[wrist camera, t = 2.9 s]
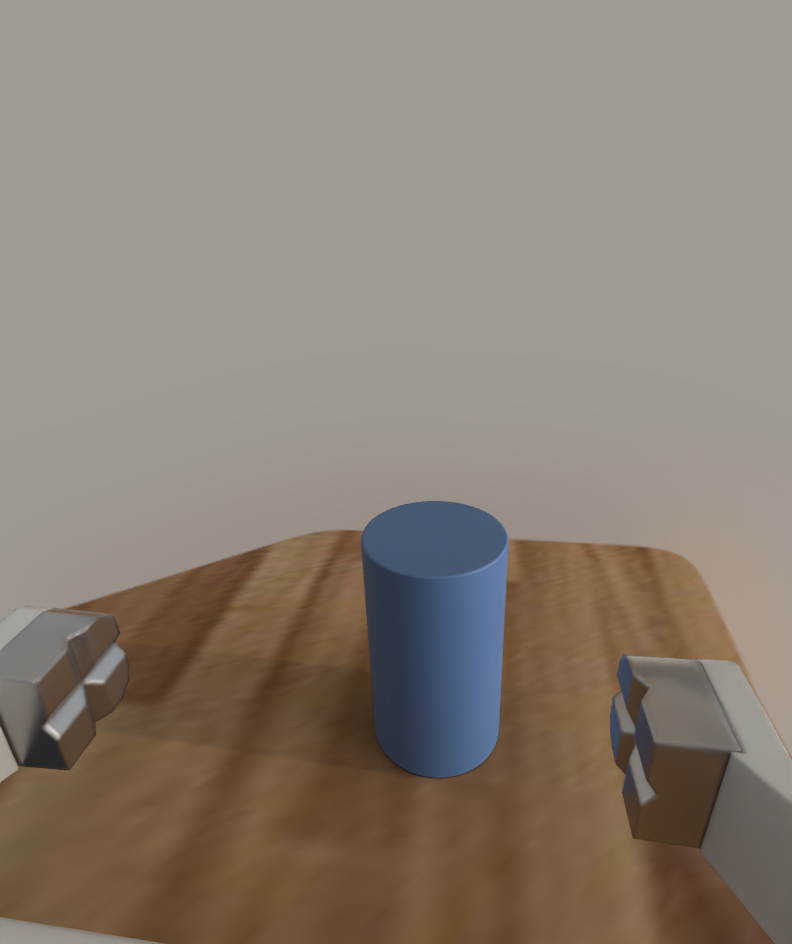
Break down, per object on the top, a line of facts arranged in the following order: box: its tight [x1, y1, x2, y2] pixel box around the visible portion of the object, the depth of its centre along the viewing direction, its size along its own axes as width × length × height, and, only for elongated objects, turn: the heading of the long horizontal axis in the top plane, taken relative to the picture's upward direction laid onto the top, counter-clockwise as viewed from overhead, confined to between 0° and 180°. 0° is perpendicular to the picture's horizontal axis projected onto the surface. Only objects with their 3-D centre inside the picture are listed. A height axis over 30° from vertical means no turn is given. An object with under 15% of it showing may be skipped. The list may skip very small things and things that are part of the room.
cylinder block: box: [361, 501, 508, 778], centre depth 24 cm, size 6×6×10 cm
